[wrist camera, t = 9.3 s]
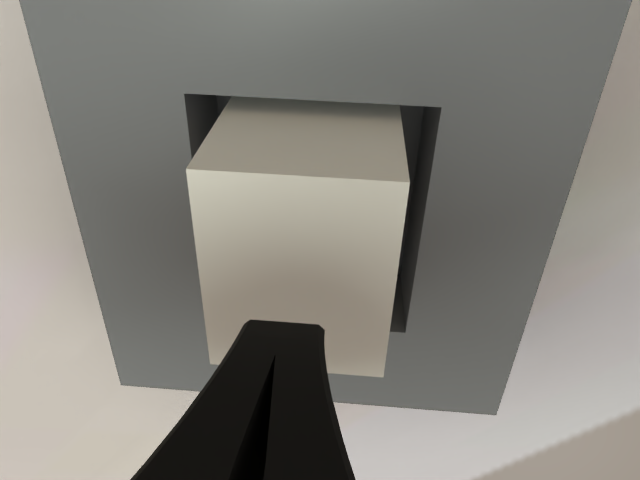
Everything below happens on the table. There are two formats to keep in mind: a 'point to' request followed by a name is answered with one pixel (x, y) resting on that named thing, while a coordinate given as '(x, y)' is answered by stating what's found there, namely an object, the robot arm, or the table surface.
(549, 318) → the table surface
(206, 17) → the socket board
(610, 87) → the table surface
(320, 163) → the plug
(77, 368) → the table surface
